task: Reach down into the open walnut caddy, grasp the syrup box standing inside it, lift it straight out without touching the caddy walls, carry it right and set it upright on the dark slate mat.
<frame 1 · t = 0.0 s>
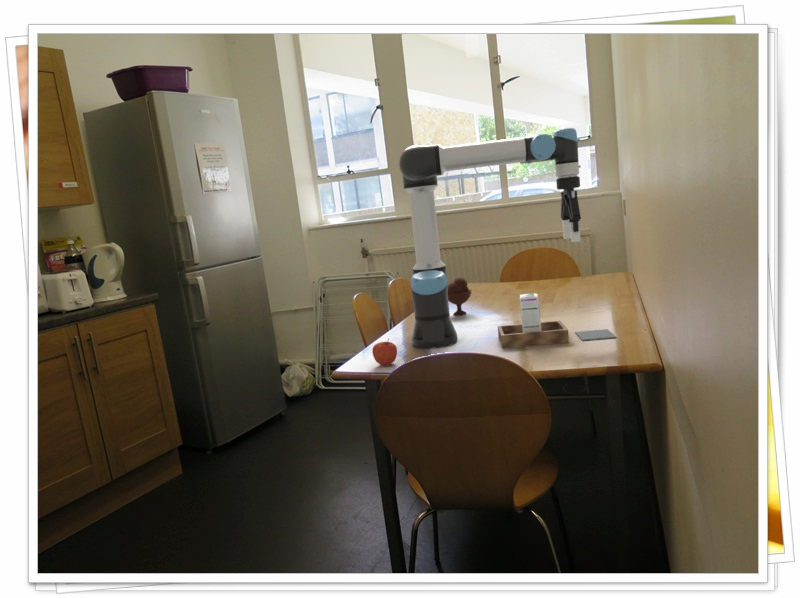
hand: (571, 240, 193), 28 cm above the table, fingers open, 13 cm apart
caddy: (532, 340, 179), on the table
ice cream bowl: (459, 314, 230), on the table
syrup box: (532, 340, 179), resting in caddy
apple: (386, 365, 170), on the table
mat: (595, 335, 176), on the table
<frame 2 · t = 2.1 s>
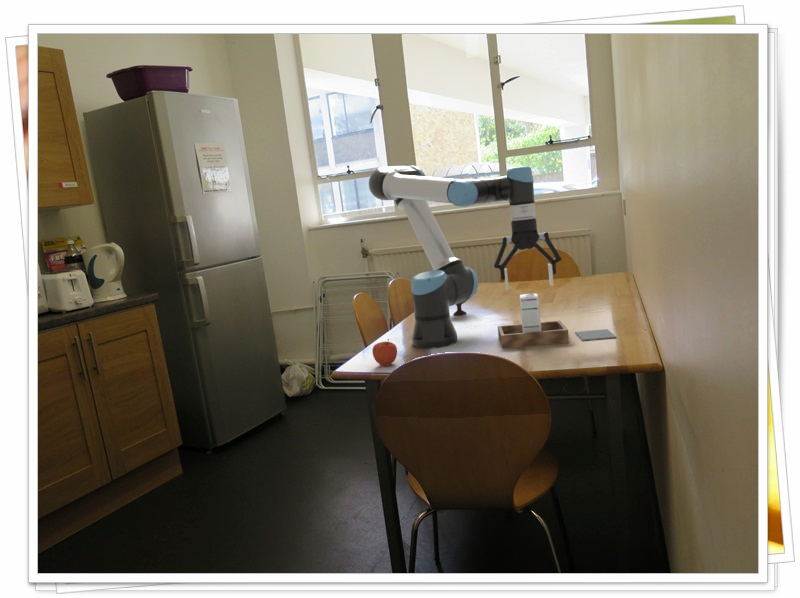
hand: (529, 287, 176), 17 cm above the table, fingers open, 13 cm apart
nothing on the table moved.
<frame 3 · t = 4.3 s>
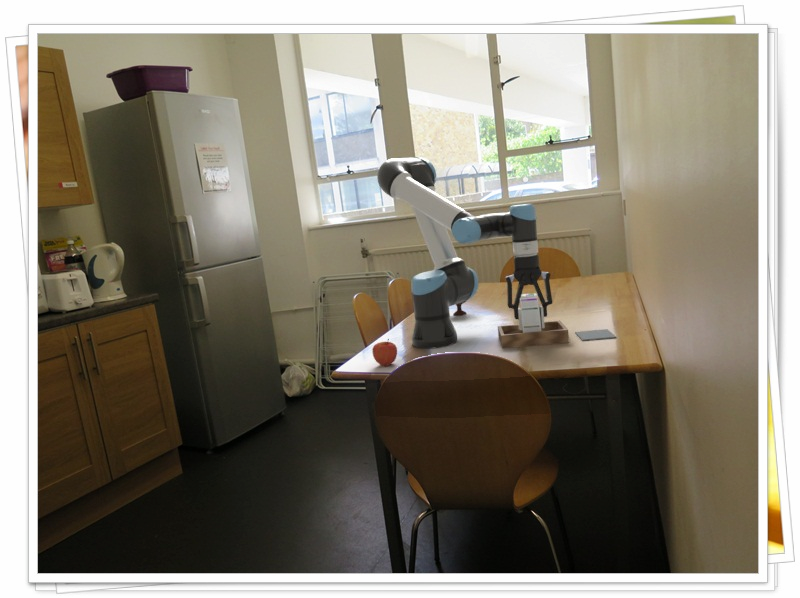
hand: (531, 327, 178), 4 cm above the table, fingers closed on syrup box, 6 cm apart
syrup box: (532, 340, 179), resting in caddy, touching gripper
everything else where it was.
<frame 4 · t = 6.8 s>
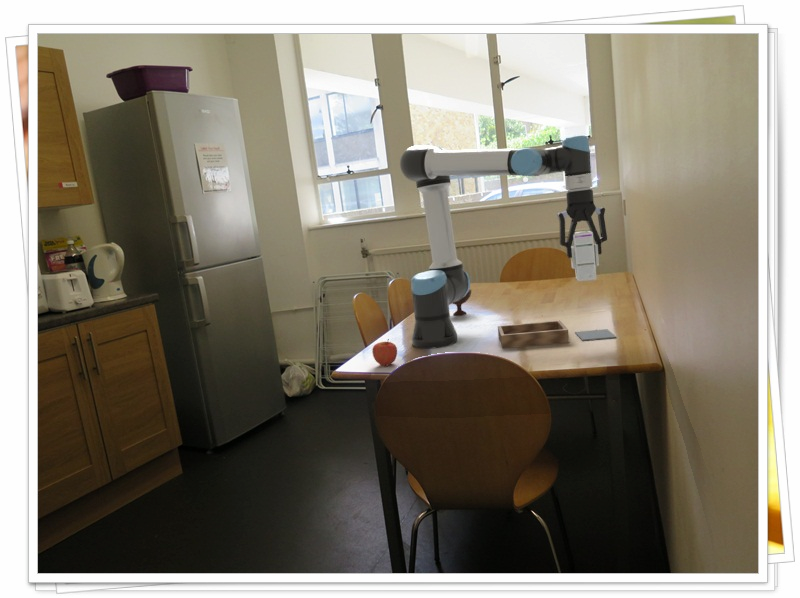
hand: (585, 266, 172), 22 cm above the table, fingers closed on syrup box, 6 cm apart
syrup box: (585, 280, 173), point 18 cm above the table, touching gripper
everything else where it was.
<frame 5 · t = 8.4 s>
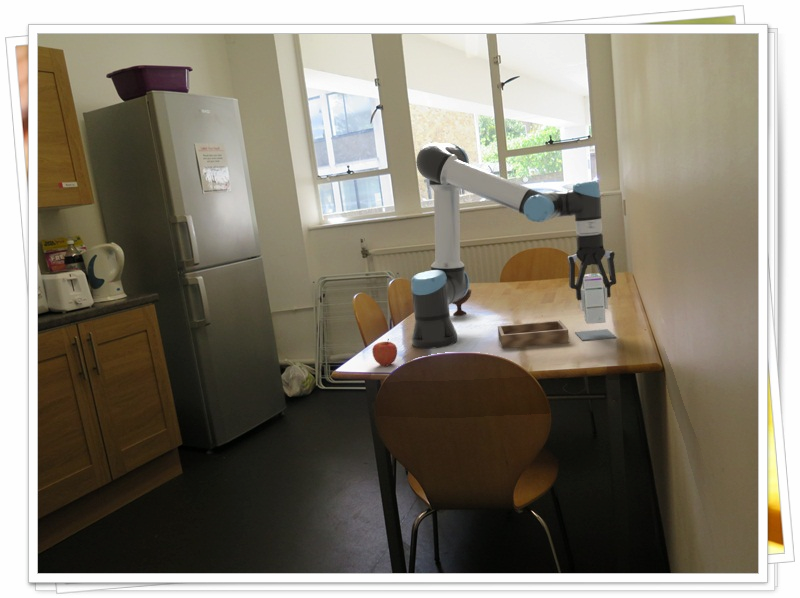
hand: (594, 308, 175), 8 cm above the table, fingers closed on syrup box, 6 cm apart
syrup box: (594, 322, 175), point 4 cm above the table, touching gripper
everything else where it was.
when the fingers open (5 cm above the table, at t = 9.5 s): syrup box drops 1 cm, resting on mat.
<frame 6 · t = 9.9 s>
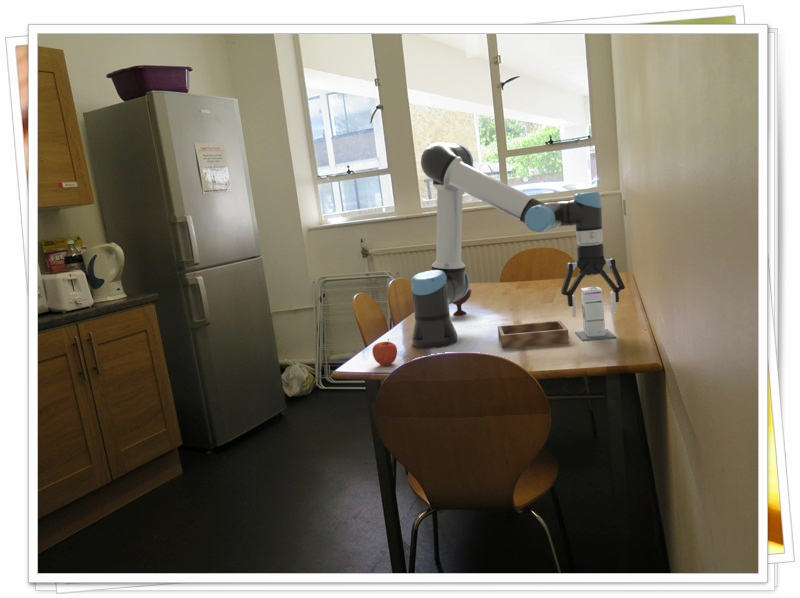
hand: (593, 314, 175), 7 cm above the table, fingers open, 11 cm apart
syrup box: (594, 334, 176), resting on mat
everything else where it was.
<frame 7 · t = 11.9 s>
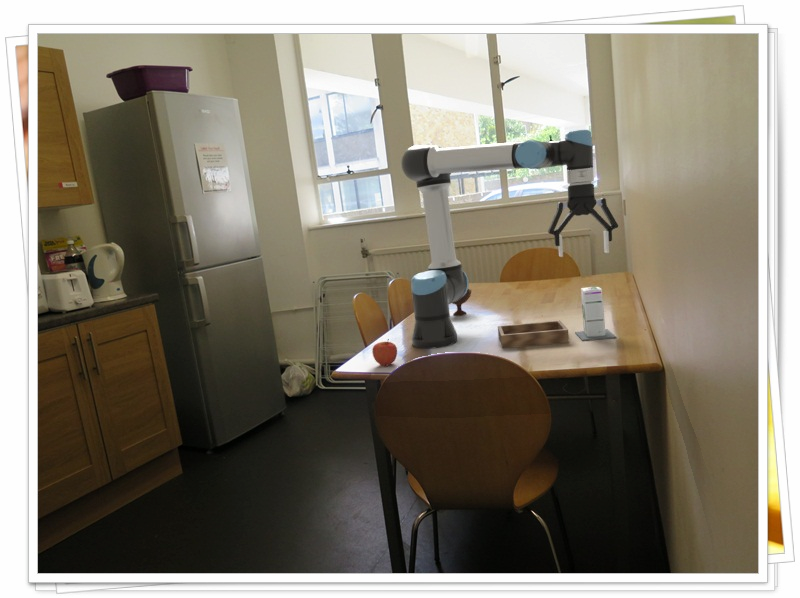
hand: (583, 254, 174), 25 cm above the table, fingers open, 13 cm apart
nothing on the table moved.
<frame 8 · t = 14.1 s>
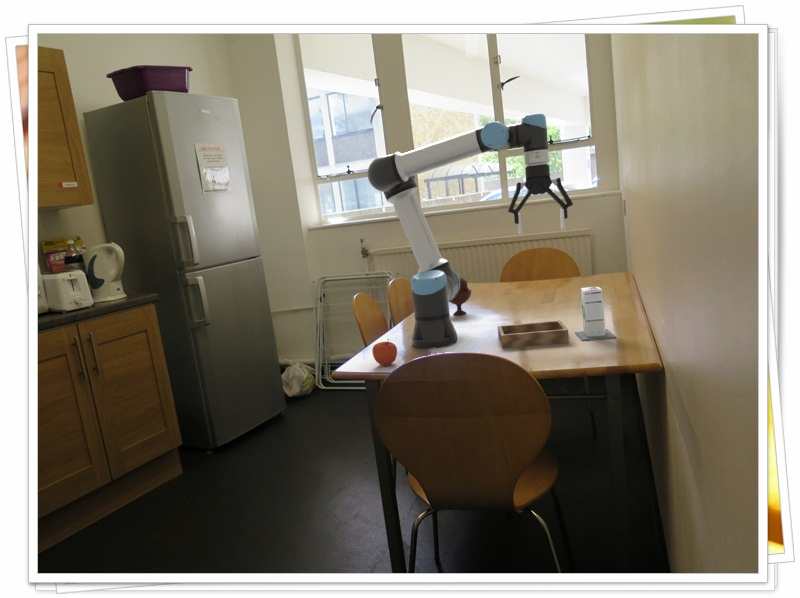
hand: (541, 231, 185), 33 cm above the table, fingers open, 13 cm apart
nothing on the table moved.
at the end: syrup box 0.2 cm from the mat (horizontally); syrup box tilted 0°; the gripper is holding nothing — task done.
